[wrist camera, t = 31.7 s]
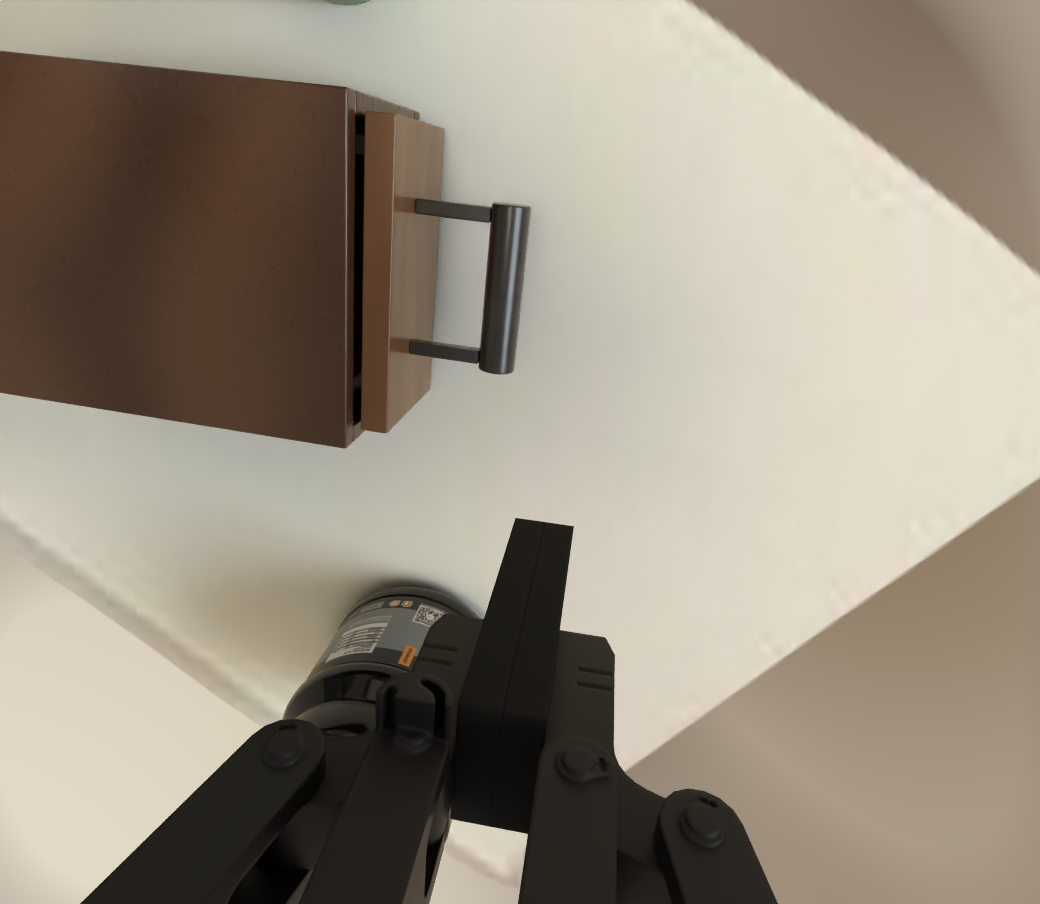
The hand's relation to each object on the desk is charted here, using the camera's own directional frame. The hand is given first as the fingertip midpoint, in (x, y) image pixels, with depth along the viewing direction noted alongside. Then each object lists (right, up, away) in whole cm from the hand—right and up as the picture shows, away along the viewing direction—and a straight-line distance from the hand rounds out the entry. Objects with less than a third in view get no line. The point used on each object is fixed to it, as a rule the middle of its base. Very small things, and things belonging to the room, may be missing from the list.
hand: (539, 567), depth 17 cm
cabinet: (-14, +14, +17) cm, 26 cm away
